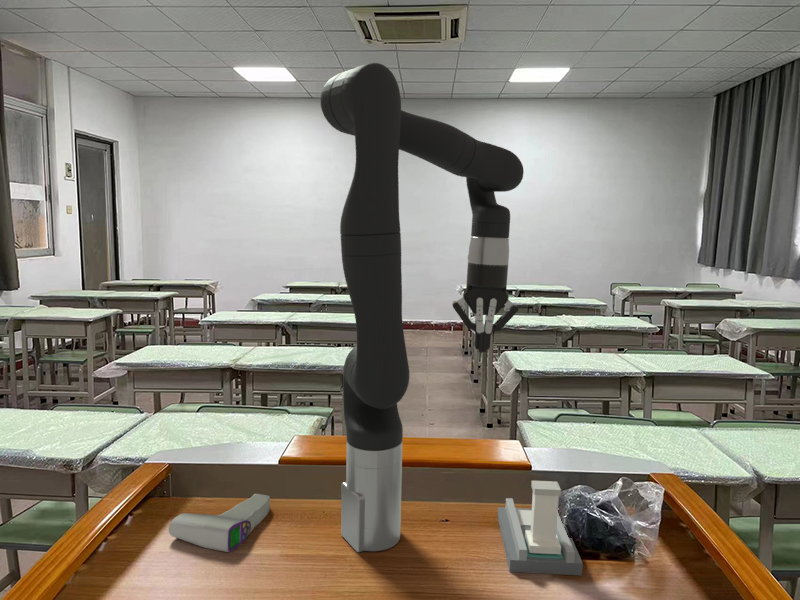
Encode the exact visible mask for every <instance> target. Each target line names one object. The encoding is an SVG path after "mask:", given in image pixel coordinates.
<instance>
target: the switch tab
mask: <svg viewBox="0 0 800 600" xmlns="http://www.w3.org/2000/svg"><path fill="white" fill-rule="evenodd" d="M530 483H531V485H530V487H531V490H532V495H531V496H532V498H531V501H532V502H531V509H532V513H531V530H525V539H526V543H527V546H528V550H529V553H542V554H561V545H560V543H559V540H558V538H557V535H556V530H557V515H558V510H559V499H560V498H559V497H561V496H562V489H561V487H560V484H559V483H558V481H549V480H531V482H530Z"/></svg>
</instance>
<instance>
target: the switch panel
mask: <svg viewBox="0 0 800 600" xmlns="http://www.w3.org/2000/svg"><path fill="white" fill-rule="evenodd" d="M531 513H532V508H528V507H527V508H524V507H523V508H522V507H521V508H520V507H516V506H515V502H514V499H513V497H511V498H510V497H509V498H507V497H506V498H505V506H504V507H502V506H501V507H500V506H498V507H497V520H498V521H497V522H498V524H499V530H500V534H501V538H502V544H503V548H504V553H505V557H506V562H507V566H508V570H509V571H508V572H509V573H527V574H542V575H543V574H547V575H567V576H583V568H584V567H583V565H584V564H583V561H582V559H581V556H580V554H579V551H578V549H577V548H576V544H575V542H574V540H573V537H572V538H569V537H568V535H567V532H566V530H565V528H564V525H563V523H562V521H561V518H560V516H559V513H558V515H557V530H556V535H557V538H558V540H559V543H560V545H561V554H542V553H529V550H528V546H527V543H526V539H525V530H531Z"/></svg>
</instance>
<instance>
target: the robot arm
mask: <svg viewBox="0 0 800 600" xmlns="http://www.w3.org/2000/svg"><path fill="white" fill-rule="evenodd" d="M319 101H320V107H321V111H322V114H323V117H324V119H325V120H326V121H327V123H328V124H329V125H330V126H331V127H332V128H334V129H335V130H336V131H338V132H341V133H343V134H346V135H350V136H353V137H354V142H355V144H354V145H355V164H354V165H355V167H354V173H353V178H352V181H351V185H350V187H349V190H348V192H347V196H346V199H345V203H344V205H343V209H342V213H341V218H340V226H339V227H340V230H339V231H340V233H339V234H340V246H341V247H340V248H341V249H340V252H341V261H342V262H341V263H342V270H343V274H344V279H345V282H346V287H347V291H348V292H347V293H348V294H349V297H350V301H351V305H352V306H351V307H352V310H353V314H354V319H355V326H356V327H355V328H356V346H355V345H354V347H353V348H352V349H351V350H350V351H349V353H348V354H347V356H346V358H345V361H344V364H343V373H342V374H343V375H342V376H343V377H342V389H343V390H342V391H343V395H342V396H343V397H342V398H343V401H342V402H343V417H344V419H343V420H344V425H345V429H346V430H345V431H346V432H345V433H346V456H345V458H346V459H345V461H346V470H345V471H346V474H345V475H346V477H345V478H346V479H345V481H343V482H341V491H340V492H341V493H340V494H341V497H340V499H341V503H340V504H341V508H340V511H341V514H340V515H341V517H340V520H341V523H340V524H341V525H340V529H341V530H340V535H341V536H342V538H344V540H345V541H346V542H347V543H348V544H349V545H350V546H351V547H352V548H353V549H354V550H355V552H356V553H360V552H380V551H385V550H388V549H391V548H392V547H395V545H397V544H398V543H399V541H400V539H401V526H402V523H401V518H402V478H403V475H402V473H403V467H402V466H403V434H404V433H403V431H404V430H403V424H402V423H403V422H402V420H401V418H400V413H399V409H398V403H399V402H400V401H401V400H402V399H403V397H404V396H405V394H406V392H407V390H408V387H409V384H410V367H409V359H408V353H407V347H406V341H405V340H406V338H405V333H404V326H403V286H402V285H403V283H402V279H403V277H402V237H401V234H402V233H401V224H400V223H401V222H400V221H401V220H400V197H399V196H400V192H399V190H400V189H399V187H400V186H399V158H400V157H399V155H400V151H401V152H405V153H408V154H409V155H411V156H415V157H417V158H419V159H422V160H424V161H426V162H428V163H430V164H432V165H434V166H435V167H439V168H440V169H443V170H445V171H446V172H448V173H450V174H453V175H455V176H457V177H462V178H465V181H466V188H467V193H468V194H467V195H468V198H469V199H468V200H469V204H470V209H471V214H472V218H471V229H470V230H471V234H470V239H469V240H470V241H469V247H468V255H467V271H466V272H467V273H466V287H465V289H464V292H463V293H462V297H461V298H459V299H457V300H454V301H452V304H451V305H452V307H453V310H454V312H456V314H457V315H458V316H459V318H460V320H462V322H463V323H464V325H465V326H466V328H467V329H468V330H471V331H473V332H474V348H475V350H477V352H478V353H483V354H484V353H486V354H487V350H488V351H490V350H489V349H490V348H491V339H492V337H491V336H492V333H495V332H500V331H501V330H502V329H503V328H504V327H505V326H506V325H507V324H508V323H509V322H510V320H511V319H513V317H514V316H515V315H516V314H517V313H518V312H519V307H518V306H517V305H516V304H514V303H513V302H512V301H510V300H509V295H508V291H507V286H508V270H509V262H510V261H509V258H510V239H509V238H510V230H511V229H510V227H511V226H510V225H511V224H510V223H511V212H510V209H509V208H508V207H507V206H504V205H501V204H498V202H497V199H496V196H495V195H496V194H495V193H497V192H509V191H512V190H514V189H516V188H517V187H518V186H519V185H520V184H521V183H522V181H523V178H524V166H523V163H522V162H521V159H520V158H519V156H517V154H515V153H514V152H512V151H511V150H509V149H507V148H504V147H501V146H498V145H496V144H492V143H488V142H485V141H484V142H483V141H481V140H478V139H476V138H475V137H473V136H471V135H469V134H468V133H466V132H465V131H463V130H460V129H459V128H457V127H455V126H453V125H451V124H449V123H445V122H442V121H439V120H436V119H432V118H428V117H425V116H421V115H418V114H415V113H409V112H407V111H405V110H402V99H401V92H400V87H399V83H398V81H397V79H396V77H395V75H394V74H393V72H392V71H391V70H390V69H389V67H387V66H385V65H384V64H382V63H379V62H369V63H365V64H362V65H359V66H356V67H354V68H351V69H348V70H344V71H342V72H339V73H337V74H336V75H334V76H333V77H331V78H329V79H328V80H327V82H325V84H324V85H323V86H322V90H321V93H320V100H319ZM466 304H467V306H468V307H469V309H470V310H471V312H472V313H473V315H474V322H473V321H472V320H471V319H470V318H469V316H468V315H467V314H466V312H465V309H466ZM502 308H503V311H504V312H503V313H502V314H501V315H500V317H499V318H497V320H496V321H495V322H494V320H495V315H497V314H498V313H499V312H500V310H502ZM484 315H485V316H484ZM484 318H485V319H484ZM483 322H484V323H483Z"/></svg>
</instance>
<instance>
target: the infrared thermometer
mask: <svg viewBox="0 0 800 600" xmlns="http://www.w3.org/2000/svg"><path fill="white" fill-rule="evenodd" d="M270 504H271V496H270V495H267V494H261V493H254V494H253V495H252V496H251V497H250V498H249V497H248V498H247V499H245V500H244V501H241V502H240V503H237V504H236V505H235V506H233V507H232V508H230V509H229V510H227V511H224V512H223V513H221V514H205V513H204V514H201V513H190V512H189V513H188V512H183V513H180V514H178V515H176V516H175V517H174V518H173V519H172V521H171V522H170V523H169V525H168V534H169V535H170V536H172V537H174V538H177V539H179V540H182V541H185V542H188V543H190V544H193V545H195V546H198V547H202V548H205V549H209V550H215V551H219V552H225V553H231V552H233V550H236V548H237V547H239V546H240V545H241V544H243V543H244V542H245V541H246V539H248V537H249V534H251V533H252V531H253V530H254V528H256V526H258V525H259V524H260V523H261V522H262V521H263V520H264V519H265V518H266V517H267V516H268V513H269V512H270V509H271V507H270V506H271V505H270Z"/></svg>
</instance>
